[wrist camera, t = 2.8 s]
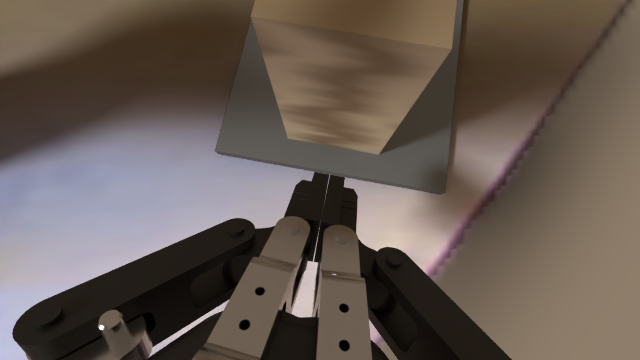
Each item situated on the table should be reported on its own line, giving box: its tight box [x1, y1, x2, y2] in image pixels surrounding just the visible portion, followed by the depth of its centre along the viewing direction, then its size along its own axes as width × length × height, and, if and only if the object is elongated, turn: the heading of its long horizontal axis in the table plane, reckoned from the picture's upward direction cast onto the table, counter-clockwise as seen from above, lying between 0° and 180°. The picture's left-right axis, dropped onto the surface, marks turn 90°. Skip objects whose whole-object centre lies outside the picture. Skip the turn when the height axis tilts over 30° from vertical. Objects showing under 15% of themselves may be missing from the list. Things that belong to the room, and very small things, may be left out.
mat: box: [215, 0, 464, 194], centre depth 28 cm, size 20×26×1 cm
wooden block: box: [251, 0, 457, 155], centre depth 18 cm, size 8×3×14 cm, turn 80°
